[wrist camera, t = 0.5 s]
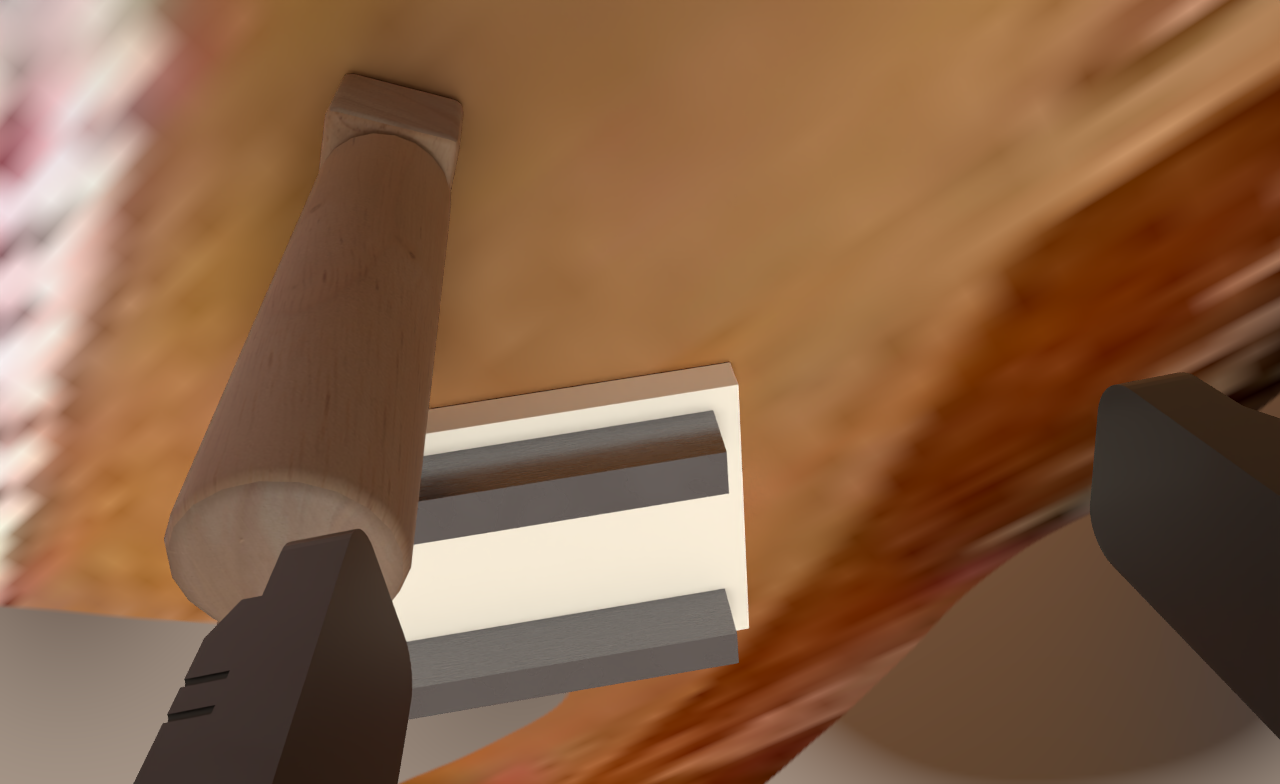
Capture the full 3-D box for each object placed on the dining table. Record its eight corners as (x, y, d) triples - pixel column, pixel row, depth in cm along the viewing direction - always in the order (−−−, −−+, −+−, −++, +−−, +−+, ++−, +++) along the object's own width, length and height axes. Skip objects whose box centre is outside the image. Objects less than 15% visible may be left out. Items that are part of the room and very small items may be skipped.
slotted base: (232, 440, 33) (203, 513, 30) (729, 362, 34) (753, 425, 31) (342, 670, 42) (329, 747, 38) (741, 603, 42) (761, 673, 39)
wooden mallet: (308, 363, 32) (147, 870, 17) (343, 66, 26) (149, 450, 12) (411, 381, 33) (342, 874, 18) (468, 99, 27) (431, 490, 13)
